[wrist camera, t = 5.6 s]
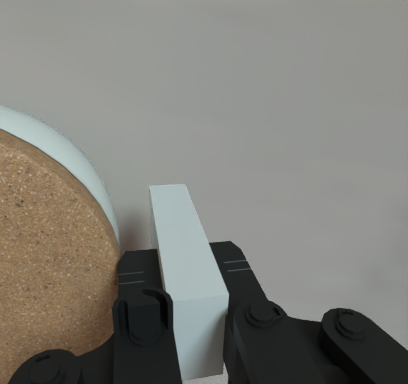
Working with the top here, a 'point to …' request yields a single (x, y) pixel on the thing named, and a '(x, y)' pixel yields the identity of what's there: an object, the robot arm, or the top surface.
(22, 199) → the lidded jar
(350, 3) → the top surface
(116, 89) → the top surface
